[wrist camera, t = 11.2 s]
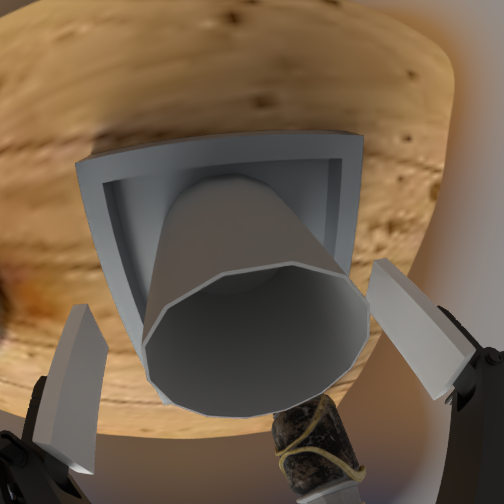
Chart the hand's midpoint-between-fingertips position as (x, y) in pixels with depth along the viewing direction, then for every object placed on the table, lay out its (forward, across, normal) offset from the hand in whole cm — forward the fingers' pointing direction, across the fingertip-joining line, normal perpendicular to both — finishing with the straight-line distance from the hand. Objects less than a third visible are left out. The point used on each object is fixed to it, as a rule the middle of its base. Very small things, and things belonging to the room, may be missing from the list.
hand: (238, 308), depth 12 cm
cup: (+7, 0, 0) cm, 7 cm away
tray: (+7, +1, -5) cm, 9 cm away
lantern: (+7, +6, -23) cm, 25 cm away
